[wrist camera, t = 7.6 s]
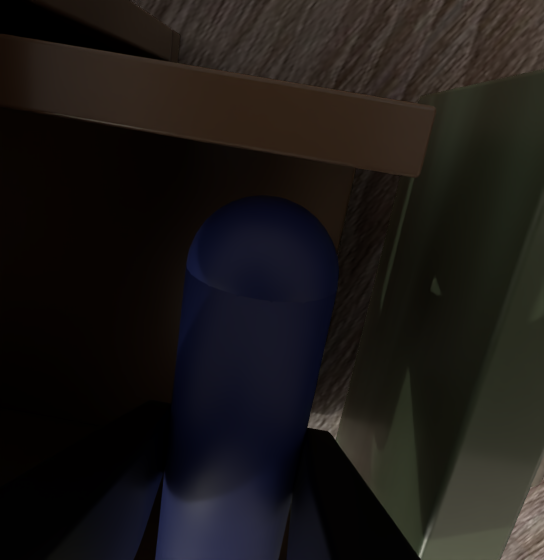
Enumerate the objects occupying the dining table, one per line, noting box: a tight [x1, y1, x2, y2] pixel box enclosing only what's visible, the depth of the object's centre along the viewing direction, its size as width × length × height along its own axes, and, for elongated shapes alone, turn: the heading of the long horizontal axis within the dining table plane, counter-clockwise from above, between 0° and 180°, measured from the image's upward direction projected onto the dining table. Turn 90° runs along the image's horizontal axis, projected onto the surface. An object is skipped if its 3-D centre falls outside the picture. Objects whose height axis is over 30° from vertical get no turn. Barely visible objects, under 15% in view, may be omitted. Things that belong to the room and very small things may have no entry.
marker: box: [155, 195, 339, 560], centre depth 8 cm, size 8×2×2 cm, turn 171°
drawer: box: [0, 33, 544, 560], centre depth 11 cm, size 18×12×8 cm
